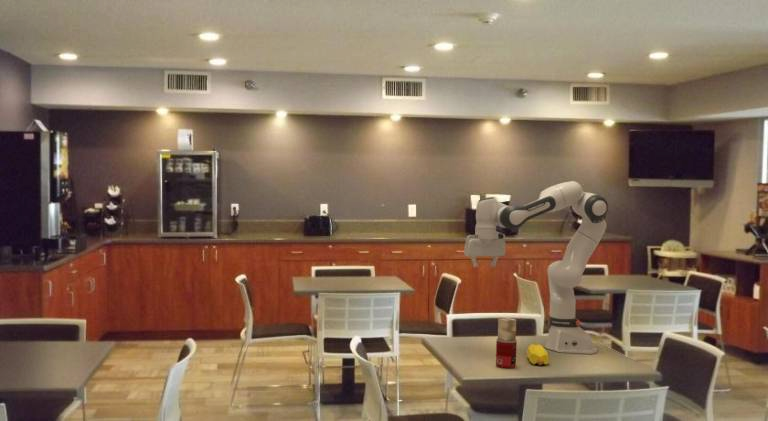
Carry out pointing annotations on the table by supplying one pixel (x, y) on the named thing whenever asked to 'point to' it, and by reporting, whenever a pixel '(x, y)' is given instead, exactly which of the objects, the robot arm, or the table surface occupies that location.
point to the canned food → (506, 353)
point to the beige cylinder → (506, 329)
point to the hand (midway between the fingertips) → (484, 266)
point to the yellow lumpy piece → (537, 354)
